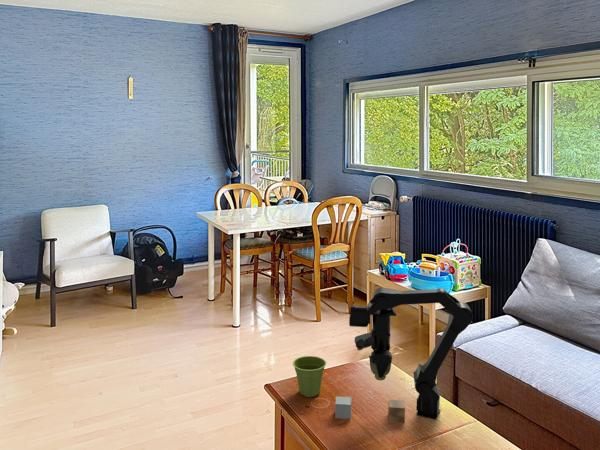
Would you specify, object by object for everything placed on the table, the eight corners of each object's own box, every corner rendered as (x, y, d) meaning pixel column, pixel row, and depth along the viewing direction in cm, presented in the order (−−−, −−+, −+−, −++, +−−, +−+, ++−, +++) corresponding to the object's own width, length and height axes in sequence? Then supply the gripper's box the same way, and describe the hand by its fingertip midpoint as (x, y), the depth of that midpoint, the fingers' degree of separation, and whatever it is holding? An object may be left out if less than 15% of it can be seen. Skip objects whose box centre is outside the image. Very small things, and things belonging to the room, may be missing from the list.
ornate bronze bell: (386, 385, 168) (386, 362, 167) (365, 380, 172) (365, 357, 171) (395, 377, 174) (395, 354, 173) (374, 372, 178) (374, 349, 177)
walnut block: (403, 414, 172) (404, 400, 171) (404, 422, 167) (405, 408, 166) (388, 413, 173) (388, 399, 172) (388, 421, 168) (389, 407, 167)
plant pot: (287, 389, 190) (287, 359, 188) (316, 382, 195) (316, 353, 193) (302, 403, 179) (302, 372, 177) (332, 396, 184) (332, 365, 183)
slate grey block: (351, 411, 174) (351, 397, 173) (350, 419, 169) (350, 404, 168) (336, 410, 175) (336, 396, 174) (335, 418, 170) (335, 403, 169)
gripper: (356, 317, 181) (356, 360, 183) (355, 337, 162) (354, 384, 165) (389, 318, 179) (389, 361, 182) (392, 338, 161) (391, 386, 163)
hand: (380, 372), depth 173 cm, fingers closed on ornate bronze bell, 6 cm apart
